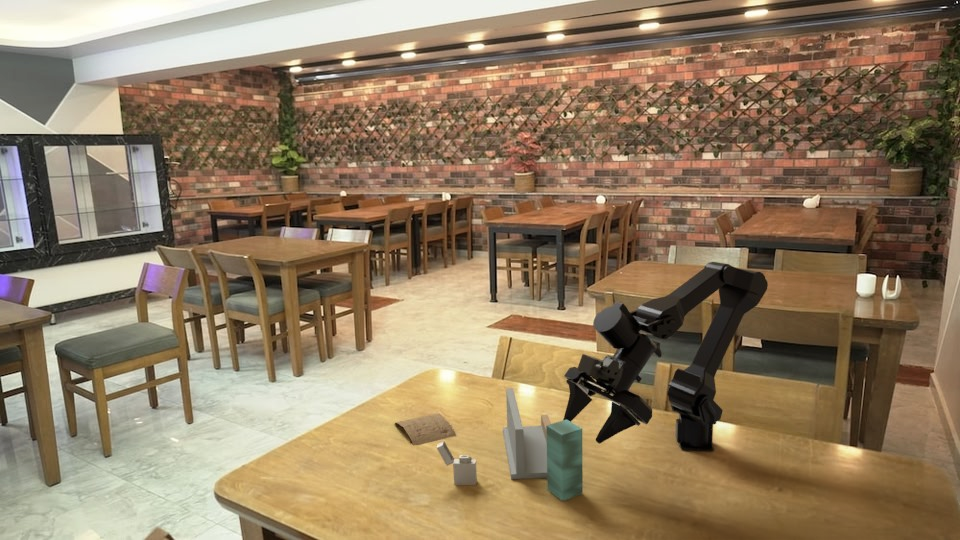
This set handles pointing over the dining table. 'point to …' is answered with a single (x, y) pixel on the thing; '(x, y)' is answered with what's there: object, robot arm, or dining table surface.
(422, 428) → the curved bark piece
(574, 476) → the teal block
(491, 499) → the dining table surface
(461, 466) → the lighter
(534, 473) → the grey bookend
